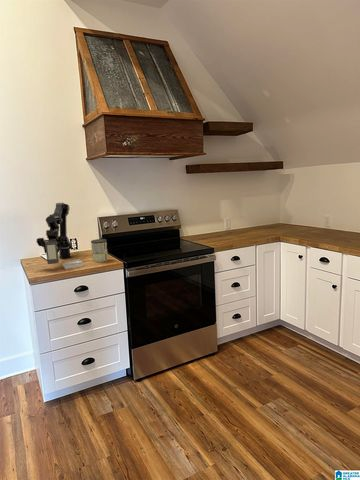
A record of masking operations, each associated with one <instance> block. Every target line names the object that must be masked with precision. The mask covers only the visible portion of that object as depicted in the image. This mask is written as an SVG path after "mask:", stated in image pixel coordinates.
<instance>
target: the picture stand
mask: <svg viewBox="0 0 360 480" xmlns="http://www.w3.org/2000/svg"><path fill="white" fill-rule="evenodd" d="M62 265H63V266H62V267H63V268H64V269H65V270H68V269H69V270H70V269H76V268H83V267H84V262H83V261H81V259H80V258H79V259H74V260H67V261H62Z"/></svg>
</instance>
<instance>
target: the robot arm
mask: <svg viewBox="0 0 360 480" xmlns="http://www.w3.org/2000/svg"><path fill="white" fill-rule="evenodd" d="M69 213H70V205H69V204H67V203H65V202H56V203H55V208H54V212H53V213H52V214H49V215H48V216H47V217H46V218H45V222H46V224H47V226H48V227H49V229H47V230H46V231H45V232H46V233H45V236H46V238H47V239H46V238H44V237H38V238H36V243H37V246H39V247H42V248H43V250H44V253H45V254H46V246H45V241H53V240H56V241H57V252H58V259H59V258H60V259H62V260H64V259H68V258H72V255H71V249H72V245H71V241H70V239H69V237H68V236H67V232H68V231H67V216H68V215H69Z"/></svg>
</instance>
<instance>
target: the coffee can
mask: <svg viewBox="0 0 360 480" xmlns="http://www.w3.org/2000/svg"><path fill="white" fill-rule="evenodd" d="M90 244H91V253H92V262H93V263H104V261H105V262H107V261H108V260H109V256H108V254H109V253H108V247H107V246H108V243H107V239H105V238H97V239H92V240H90Z"/></svg>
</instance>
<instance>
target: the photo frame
mask: <svg viewBox="0 0 360 480" xmlns="http://www.w3.org/2000/svg"><path fill="white" fill-rule="evenodd" d="M45 246H46V253H45V254H46V261H47V265H54V264H55V265H56V264H59V262H60V260H59V252H57V249H58V248H57V241H56V240H53V241H45Z"/></svg>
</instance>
